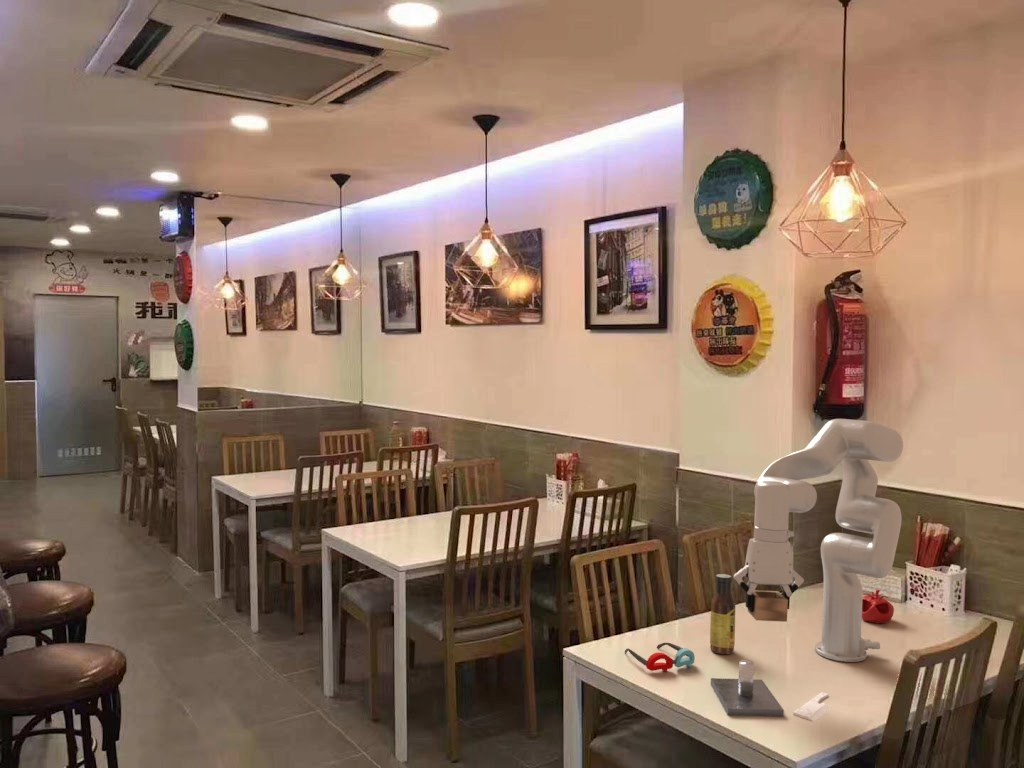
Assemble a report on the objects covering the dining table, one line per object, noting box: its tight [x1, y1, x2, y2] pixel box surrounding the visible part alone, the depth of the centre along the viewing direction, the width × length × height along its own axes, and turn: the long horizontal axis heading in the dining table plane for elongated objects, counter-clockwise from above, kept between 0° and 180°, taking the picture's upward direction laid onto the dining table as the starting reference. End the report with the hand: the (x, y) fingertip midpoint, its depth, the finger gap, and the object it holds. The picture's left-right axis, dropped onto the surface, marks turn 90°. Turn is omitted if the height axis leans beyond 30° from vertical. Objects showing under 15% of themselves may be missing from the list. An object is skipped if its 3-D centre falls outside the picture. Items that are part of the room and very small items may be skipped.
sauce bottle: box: [709, 573, 736, 655], centre depth 212 cm, size 6×6×20 cm
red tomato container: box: [862, 589, 895, 624], centre depth 239 cm, size 10×10×9 cm
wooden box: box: [747, 589, 789, 623], centre depth 187 cm, size 7×7×5 cm
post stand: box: [710, 659, 785, 718], centre depth 182 cm, size 12×16×8 cm
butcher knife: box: [792, 691, 832, 722], centre depth 179 cm, size 5×15×1 cm, turn 136°
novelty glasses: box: [624, 642, 696, 673], centre depth 204 cm, size 14×15×5 cm
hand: (767, 610), depth 187 cm, fingers closed on wooden box, 7 cm apart
